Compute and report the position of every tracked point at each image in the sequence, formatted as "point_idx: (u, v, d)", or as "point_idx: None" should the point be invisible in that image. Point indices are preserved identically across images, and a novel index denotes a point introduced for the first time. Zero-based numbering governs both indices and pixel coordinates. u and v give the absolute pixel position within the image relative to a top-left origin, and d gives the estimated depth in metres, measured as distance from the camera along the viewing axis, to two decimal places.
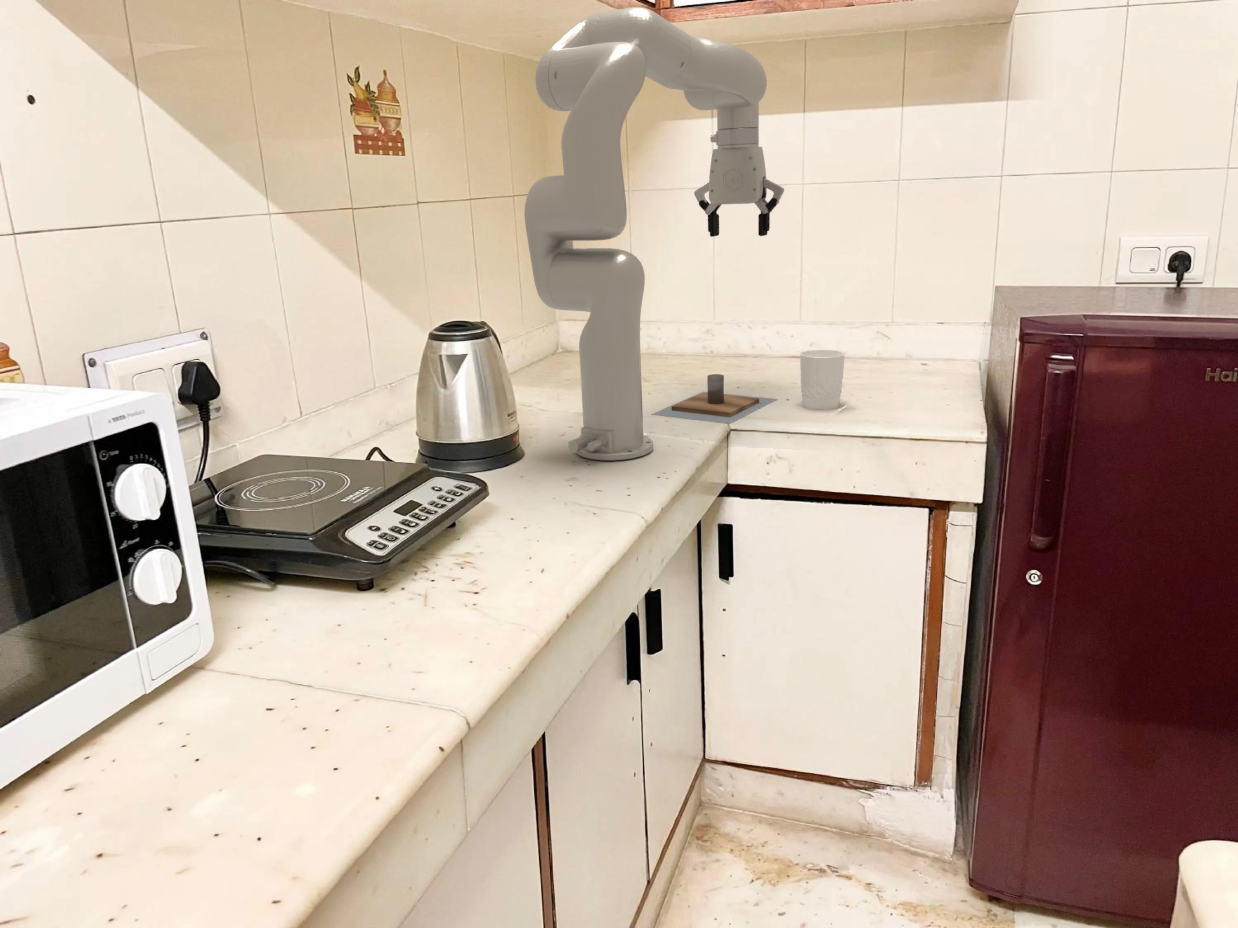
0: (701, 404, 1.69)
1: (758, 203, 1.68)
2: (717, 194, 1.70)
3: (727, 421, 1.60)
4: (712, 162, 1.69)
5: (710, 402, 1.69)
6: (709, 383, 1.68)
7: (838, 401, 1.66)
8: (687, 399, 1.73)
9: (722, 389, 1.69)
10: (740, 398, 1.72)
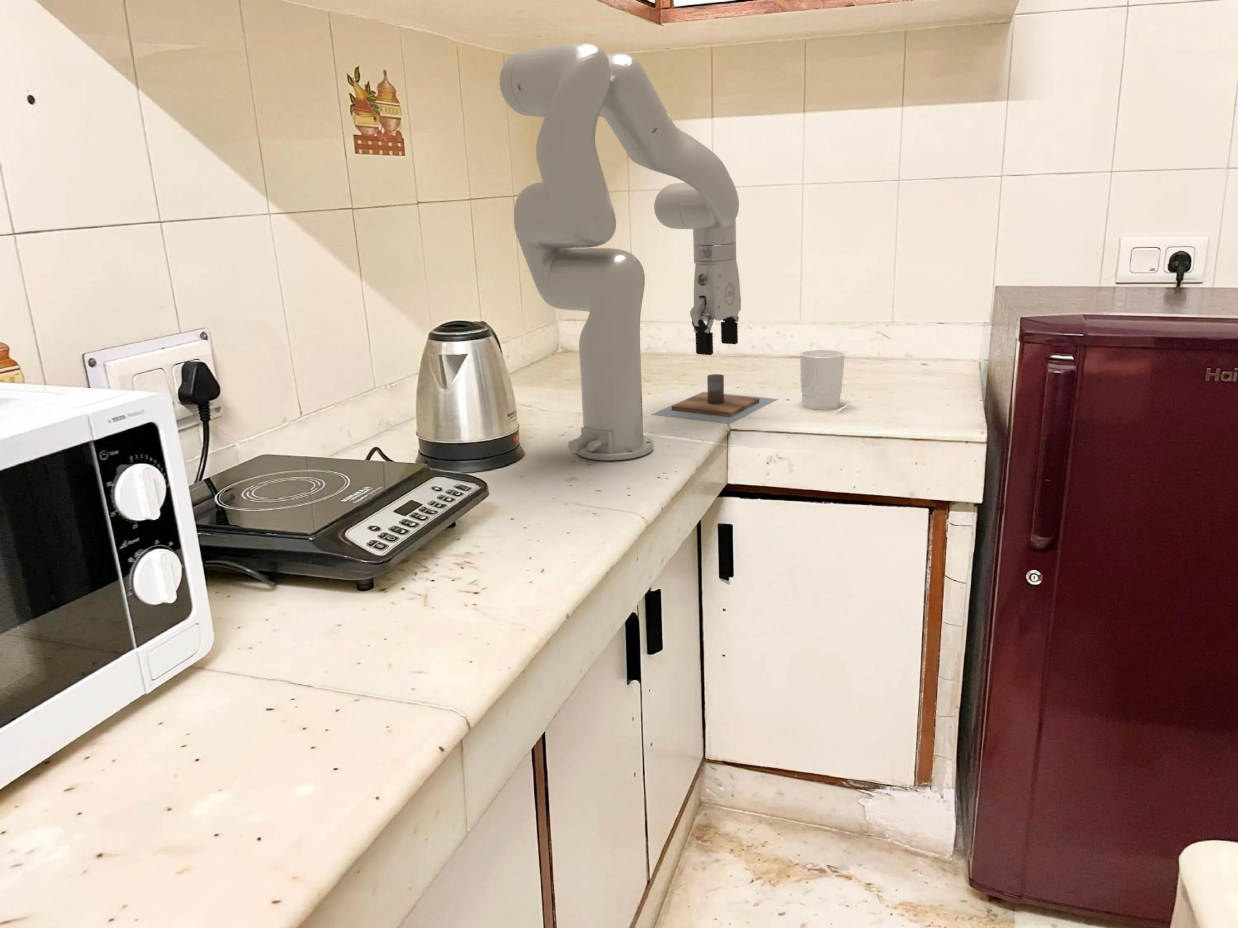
0: (701, 404, 1.69)
1: None
2: (722, 310, 1.62)
3: (727, 421, 1.60)
4: (716, 278, 1.59)
5: (710, 402, 1.69)
6: (709, 383, 1.68)
7: (838, 401, 1.66)
8: (687, 399, 1.73)
9: (722, 389, 1.69)
10: (740, 398, 1.72)
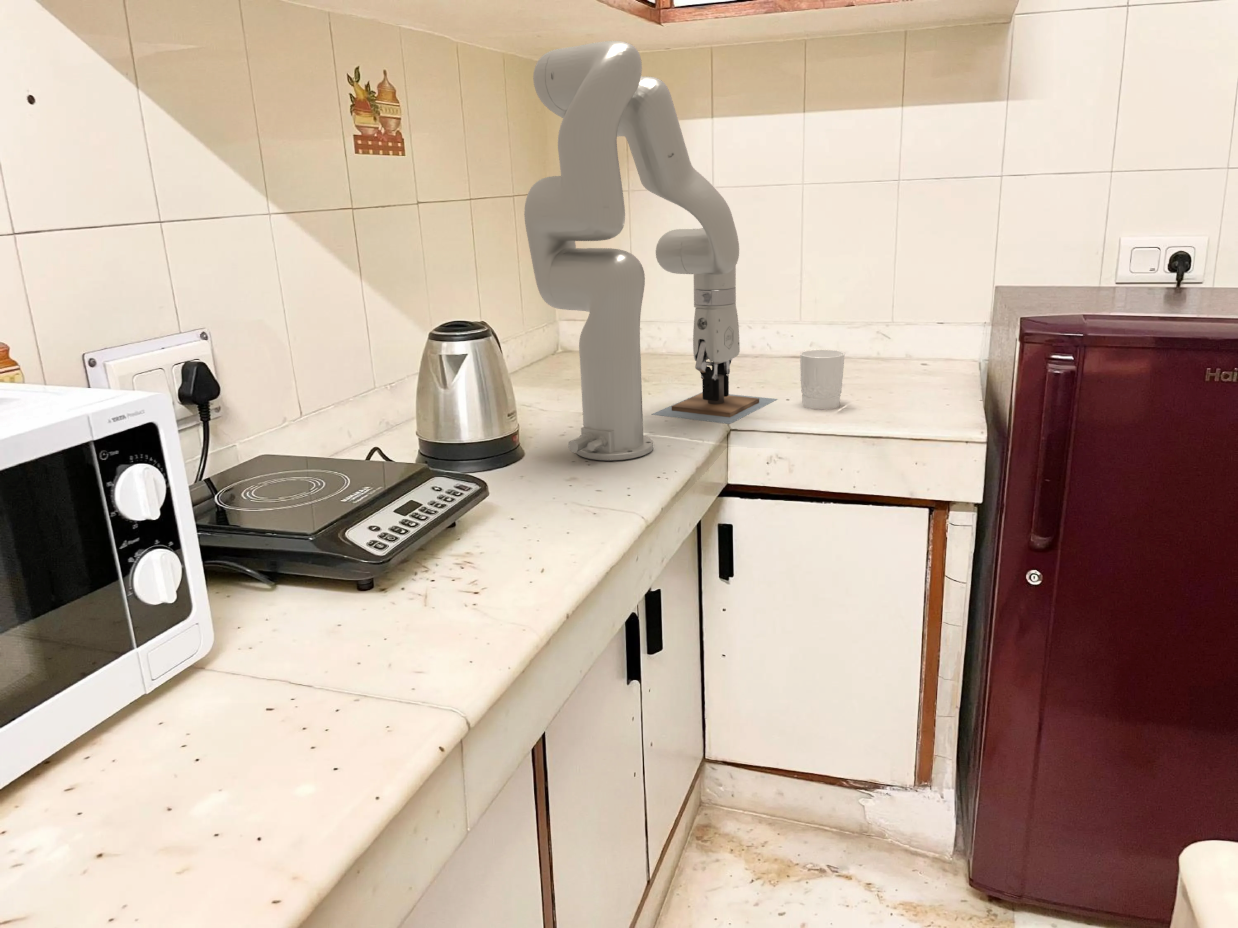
0: (701, 404, 1.69)
1: (727, 362, 1.69)
2: (720, 353, 1.63)
3: (727, 421, 1.60)
4: (716, 322, 1.61)
5: (710, 402, 1.69)
6: None
7: (838, 401, 1.66)
8: (687, 399, 1.73)
9: (722, 389, 1.69)
10: (740, 398, 1.72)
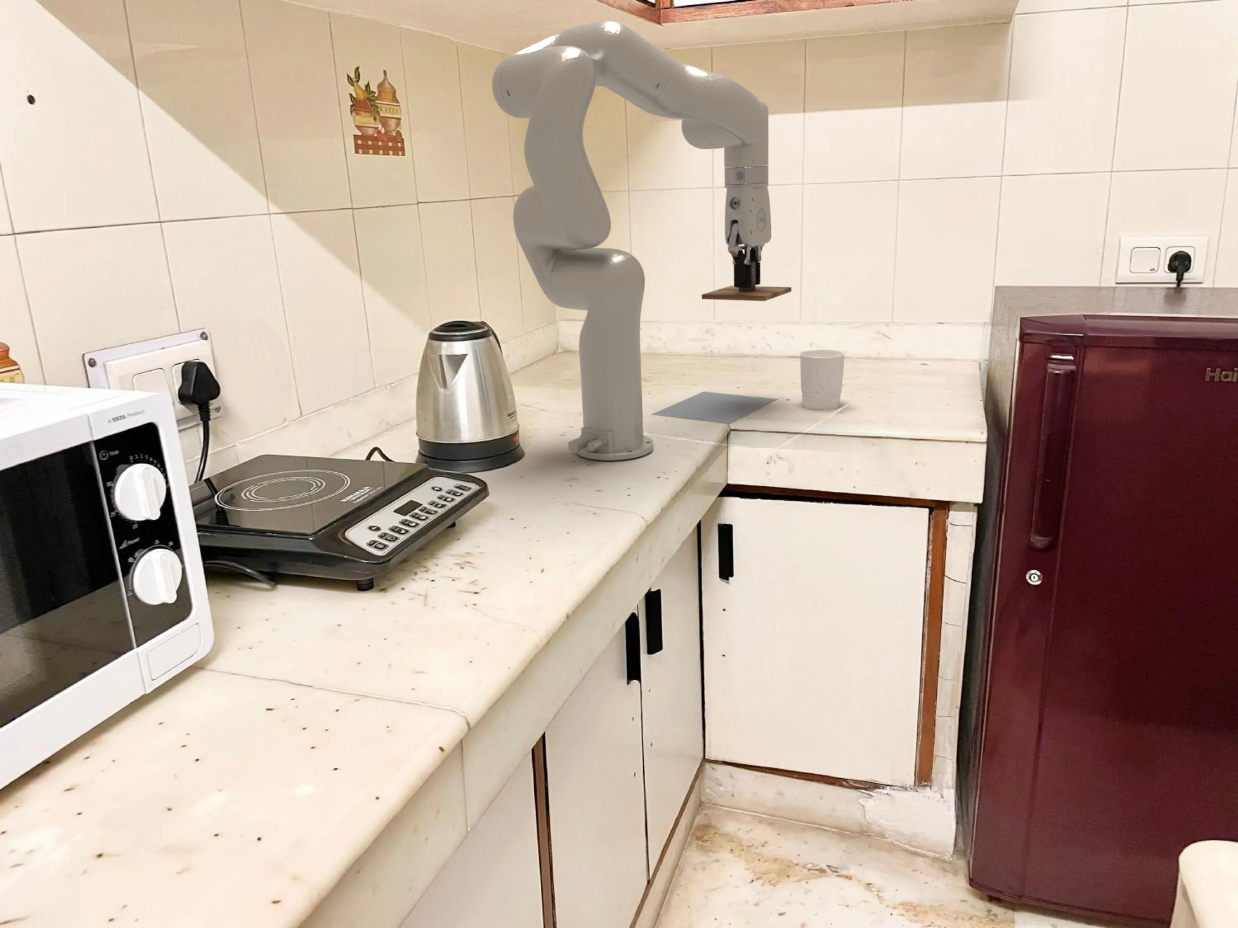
0: (732, 292, 1.63)
1: (759, 248, 1.63)
2: (754, 235, 1.57)
3: (727, 421, 1.60)
4: (749, 201, 1.55)
5: (741, 290, 1.63)
6: None
7: (838, 401, 1.66)
8: (716, 290, 1.67)
9: (754, 276, 1.62)
10: (771, 287, 1.66)
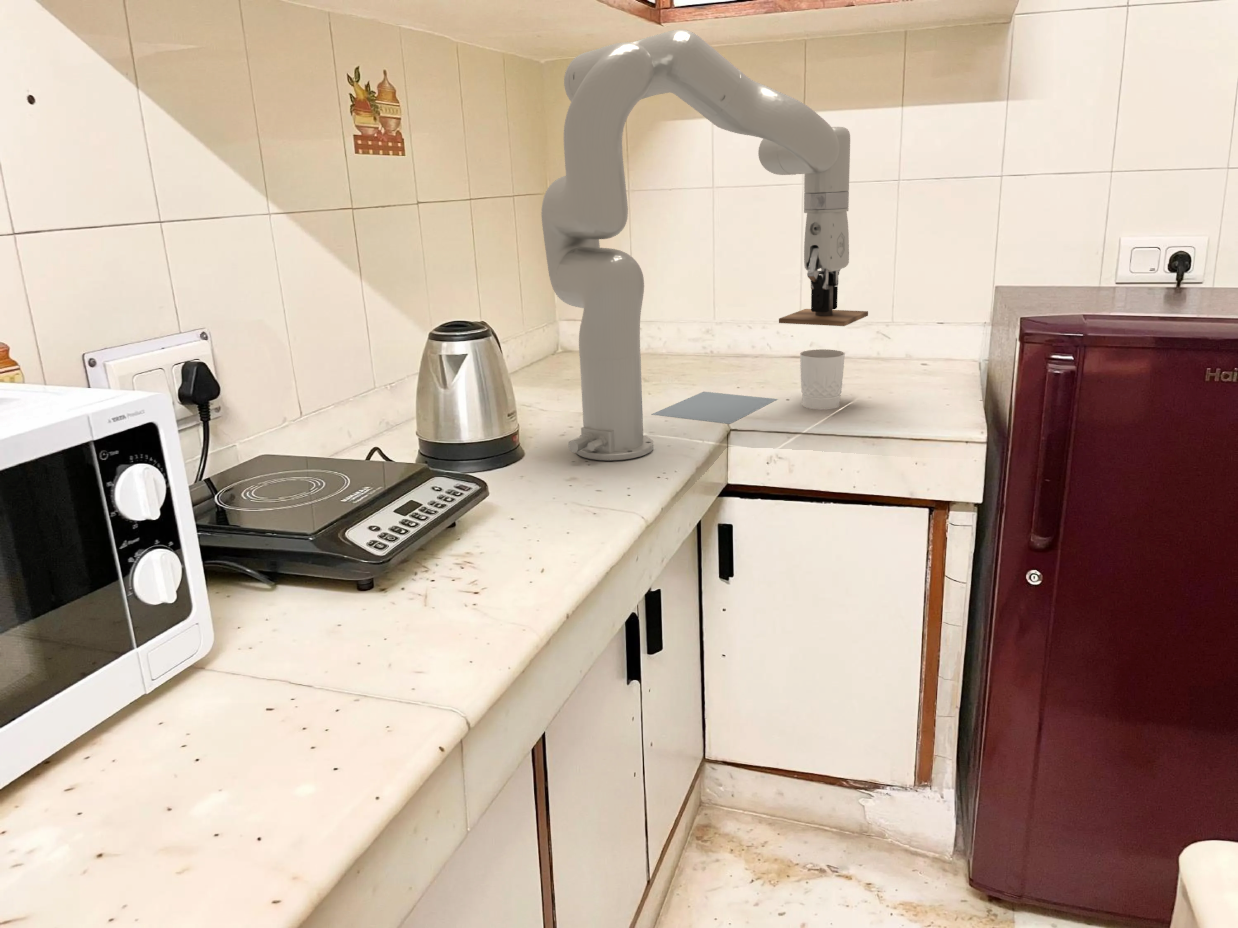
0: (809, 316, 1.62)
1: (836, 273, 1.63)
2: (833, 260, 1.57)
3: (727, 421, 1.60)
4: (830, 227, 1.54)
5: (819, 314, 1.63)
6: None
7: (838, 401, 1.66)
8: None
9: (831, 300, 1.62)
10: (848, 311, 1.66)
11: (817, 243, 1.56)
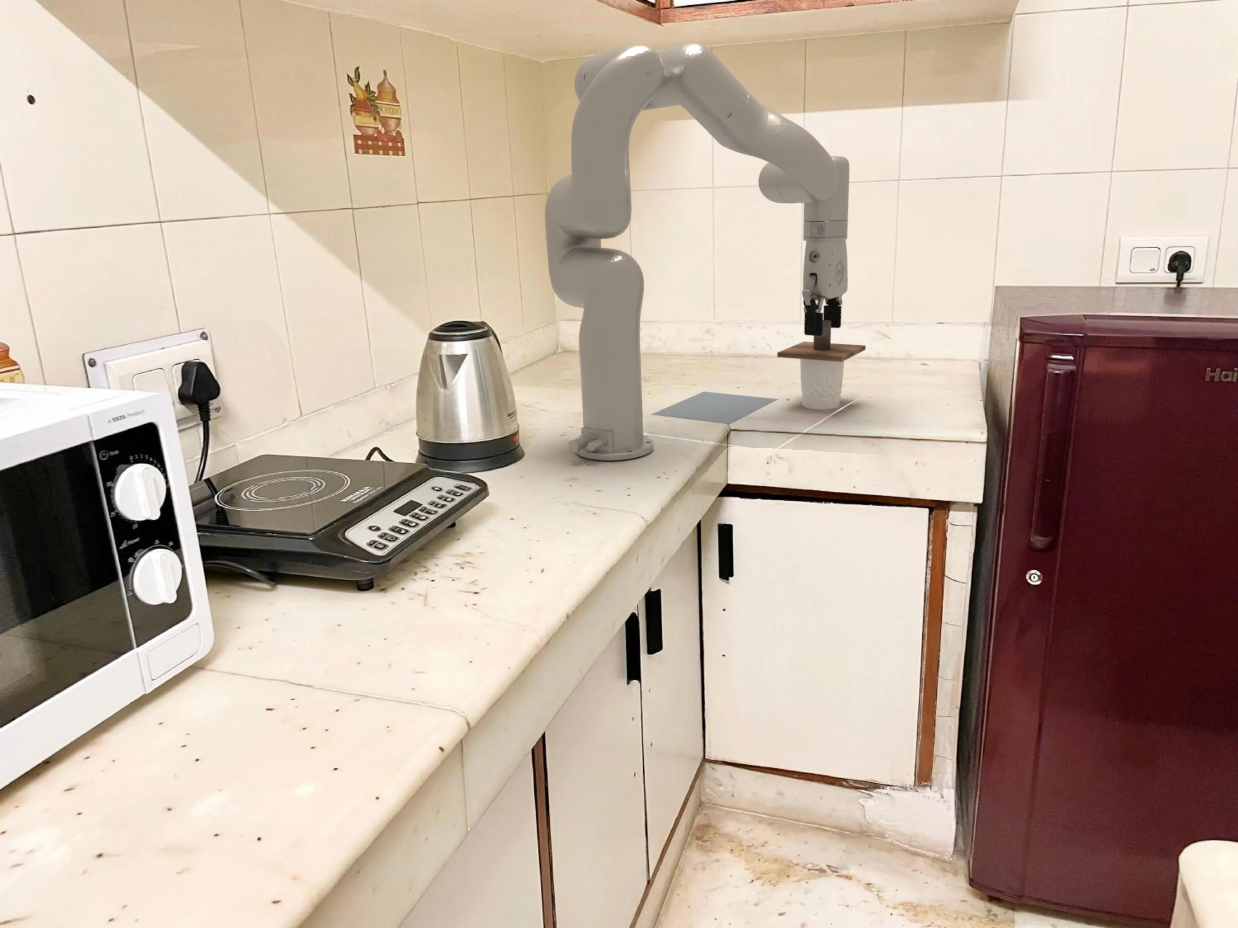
0: (807, 350, 1.64)
1: (839, 295, 1.65)
2: (832, 288, 1.58)
3: (727, 421, 1.60)
4: (829, 255, 1.56)
5: (817, 348, 1.64)
6: None
7: (838, 401, 1.66)
8: (790, 347, 1.69)
9: (829, 335, 1.64)
10: (845, 345, 1.68)
11: (816, 271, 1.57)
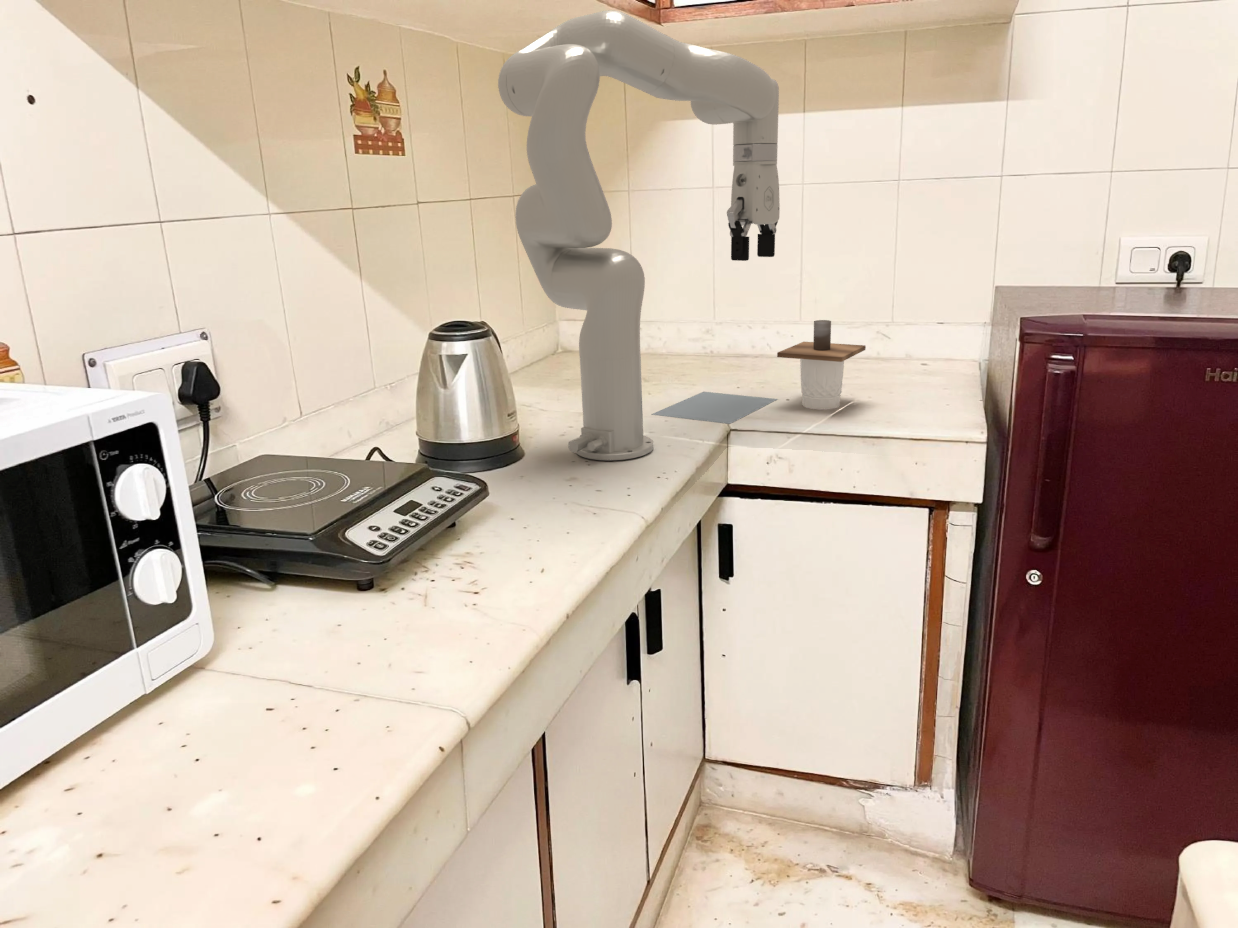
0: (807, 350, 1.64)
1: None
2: (760, 213, 1.56)
3: (727, 421, 1.60)
4: (756, 178, 1.53)
5: (817, 348, 1.64)
6: (816, 329, 1.63)
7: (838, 401, 1.66)
8: (790, 347, 1.69)
9: (829, 335, 1.64)
10: (845, 345, 1.68)
11: (743, 195, 1.54)
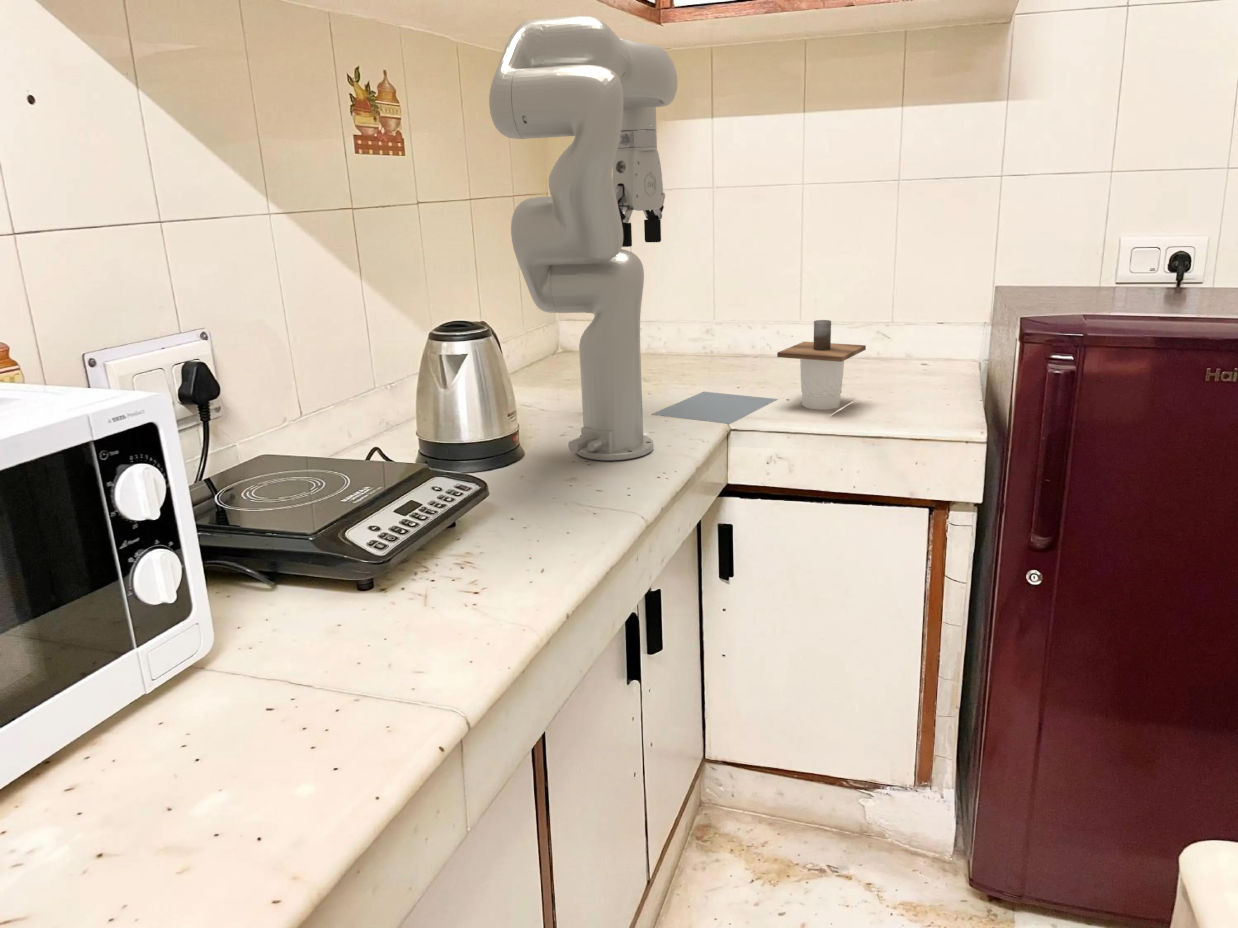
0: (807, 350, 1.64)
1: (656, 209, 1.64)
2: (640, 199, 1.57)
3: (727, 421, 1.60)
4: (635, 165, 1.55)
5: (817, 348, 1.64)
6: (816, 329, 1.63)
7: (838, 401, 1.66)
8: (790, 347, 1.69)
9: (829, 335, 1.64)
10: (846, 345, 1.67)
11: (623, 181, 1.56)
